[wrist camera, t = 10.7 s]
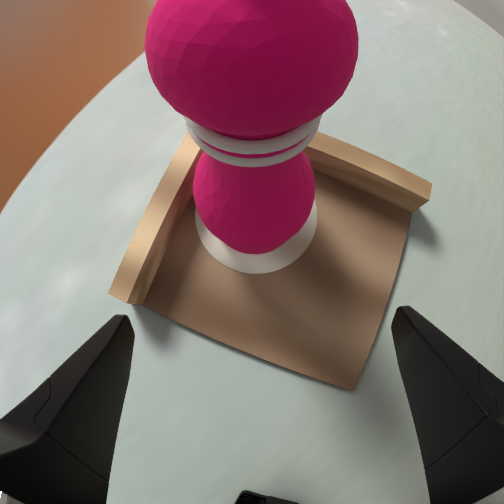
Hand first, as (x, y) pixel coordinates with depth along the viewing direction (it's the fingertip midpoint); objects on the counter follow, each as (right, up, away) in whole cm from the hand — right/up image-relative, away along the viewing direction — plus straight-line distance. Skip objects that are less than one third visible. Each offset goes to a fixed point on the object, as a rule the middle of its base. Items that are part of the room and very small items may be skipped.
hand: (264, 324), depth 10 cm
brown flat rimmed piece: (+2, +3, +13) cm, 14 cm away
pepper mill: (0, +5, +13) cm, 14 cm away
